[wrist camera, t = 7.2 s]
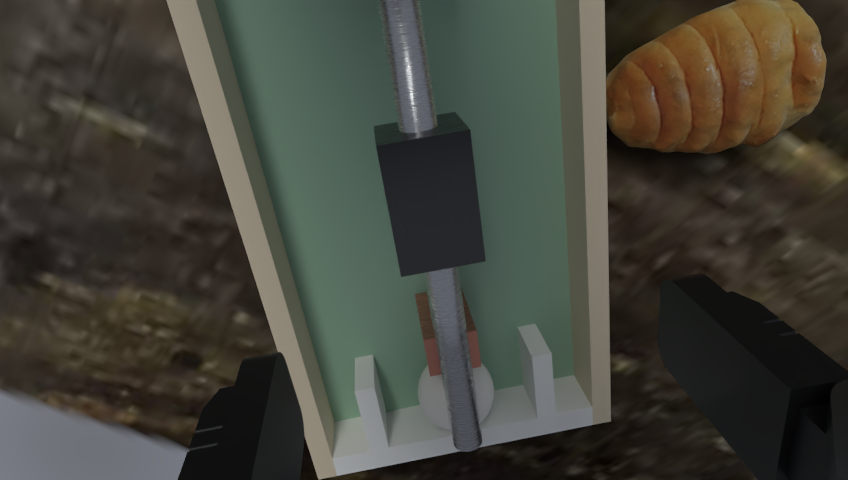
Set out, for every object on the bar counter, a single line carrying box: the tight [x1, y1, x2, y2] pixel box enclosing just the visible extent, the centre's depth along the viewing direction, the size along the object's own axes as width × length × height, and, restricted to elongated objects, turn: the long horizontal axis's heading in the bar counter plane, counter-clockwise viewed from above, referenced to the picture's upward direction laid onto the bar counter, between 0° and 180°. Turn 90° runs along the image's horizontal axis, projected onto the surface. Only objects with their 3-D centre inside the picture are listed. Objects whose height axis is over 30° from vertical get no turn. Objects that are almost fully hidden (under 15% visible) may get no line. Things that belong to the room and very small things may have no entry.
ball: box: [418, 363, 494, 431], centre depth 29 cm, size 4×4×4 cm
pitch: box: [167, 0, 611, 479], centre depth 24 cm, size 27×16×8 cm, turn 8°
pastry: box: [606, 0, 827, 154], centre depth 25 cm, size 9×7×4 cm
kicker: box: [374, 0, 486, 452], centre depth 23 cm, size 24×3×6 cm, turn 8°
